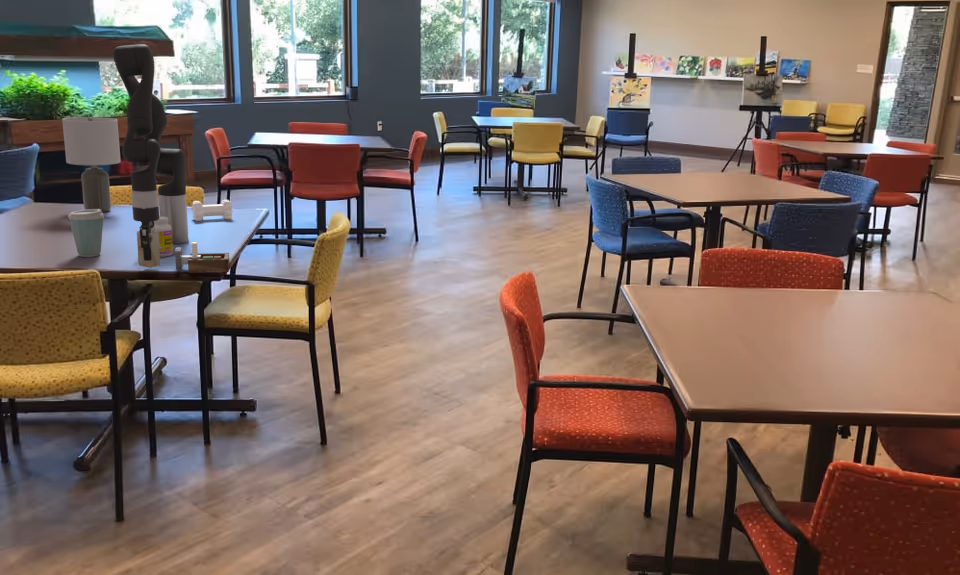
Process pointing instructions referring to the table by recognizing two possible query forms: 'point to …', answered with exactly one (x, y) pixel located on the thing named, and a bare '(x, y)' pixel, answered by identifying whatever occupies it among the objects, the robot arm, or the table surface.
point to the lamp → (92, 155)
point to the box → (154, 251)
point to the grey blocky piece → (185, 256)
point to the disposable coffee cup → (87, 231)
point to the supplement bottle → (164, 236)
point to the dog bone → (212, 210)
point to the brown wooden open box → (209, 263)
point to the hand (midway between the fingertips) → (149, 257)
